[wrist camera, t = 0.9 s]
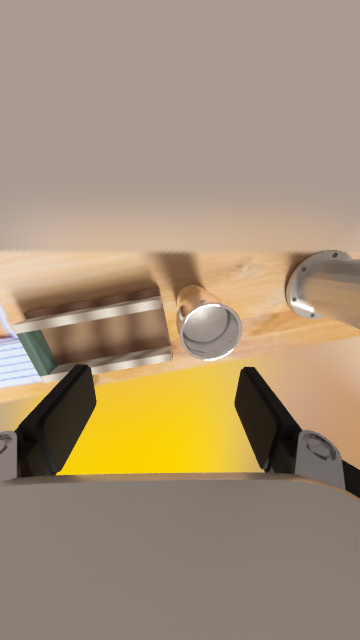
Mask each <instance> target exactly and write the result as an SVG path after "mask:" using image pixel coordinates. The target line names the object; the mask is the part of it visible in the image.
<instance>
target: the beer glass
mask: <svg viewBox="0 0 360 640" xmlns="http://www.w3.org/2000/svg"><path fill="white" fill-rule="evenodd" d="M177 307H178V309H177V313H176V324H177V330H178V333H179V336H180V340H181V344H182V346H183V347H184V349H185V350H186V351H187V352H188V353H189V354H190V355H191V356H193V357H195V358H197V359H201V360H216V359H219V358H222V357H224V356H226V355H227V354H229V353H230V352H231V351H232V350H233V349H234V348H235V347H236V346H237V344H238V342H239V340H240V338H241V334H242V325H241V321H240V318H239V316H238V315H237V313H236V312H235V311H234V310H233V309H232V308H231V307H230V306H229V305H228V304H227V303H226V302H225V301H224V300H223V299H222V298H220V297H219V296H217V295H215V294H213V293H211V292H207V291H205V289H203V288H202V287H201V286H198V285H188V286H186V287H184V288H183V289H182V290H181V291H180V292H179V293H178V296H177Z"/></svg>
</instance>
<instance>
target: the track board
mask: <svg viewBox="0 0 360 640" xmlns="http://www.w3.org/2000/svg"><path fill="white" fill-rule="evenodd" d="M24 315H25V317H26V320H24V321H21V322H19V323H16V324H14V325H12V327H13V329H14V331H15V332H16V334H17V336H18V338H19V340H20V342H21V343H22V345H23V347H24V349H25V351H26V352H27V354H28V356H29V358H30V360H31V361H32V363H33V365H34V367H35V369H36V370H37V372H38V374H39V376H40V378H41V379H42V381H43V383H47V382H53V381H59V380H62V379H63V378H64V377H65V376H66V375H67V374H68V372H69V371H70V370H71V369H72V368H73V367H74V366H75V365H76V364H87V365H88V367H91V371H92V375H93V374H99V373H104V372H110V371H116V370H121V369H127V368H133V367H138V366H144V365H150V364H155V363H161V362H167V361H172V357H173V352H172V347H171V343H170V338H169V333H168V328H167V323H166V319H165V314H164V309H163V304H162V299H161V295H160V290H159V288H156V289H150V290H144V291H139V292H133V293H128V294H122V295H116V296H111V297H105V298H99V299H94V300H88V301H82V302H77V303H71V304H65V305H60V306H54V307H48V308H43V309H37V310H31V311H27V312H25V313H24Z"/></svg>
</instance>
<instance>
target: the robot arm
mask: <svg viewBox="0 0 360 640" xmlns="http://www.w3.org/2000/svg"><path fill="white" fill-rule="evenodd" d="M286 299H287V302H288V305H289V307H290V309H291V310H292V311H293V312H294V313H295V314H297V315H299V316H301V317H303V318H307V319H319V318H323V317H328V318H331V319H334V320H336V321H339V322H342V323H345V324H347V325H350V326H353V327H356V328H359V329H360V259H358V260H352V258H351V257H350V256H348V255H347V254H346V253H344V252H341V251H337V250H327V251H321V252H318V253H315V254H313V255H311V256H309V257H307V258H306V259H305V260H303V261H302V262H301V263H300V264H299V265H298V266H297V267H296V269H295V270H294V272H293V273H292V275H291V277H290V279H289V281H288V285H287V290H286ZM95 406H96V396H95V389H94V383H93V377H92V371H91V367H88V365H87V364H76V365H75V366H74V367H73V368H72V369H71V370H70V371H69V372H68V374H67V375H66V376H65V377H64V378H63V379H62V380H61V381H60V382H59V383H58V384H57V385H56V386H55V387H54V388H53V389H52V391H51V392H50V393H49V394H48V395H47V396H46V397H45V398H44V399H43V400H42V401H41V402H40V403H39V404H38V405H37V407H36V408H35V409H34V410H33V411H32V412H31V413H30V414H29V415H28V416H27V417H26V418H25V419H24V420H23V421H22V422H21V424H20V425H19V427H18V428H17V429H16V430H15V431H14V432H13V431H4V432H0V640H360V470H359V469H357V468H355V467H354V466H352V465H350V464H349V463H347V462H345V461H343V460H342V458H341V455H340V452H339V451H338V450H337V448H336V447H335V446H334V445H333V444H332V443H331V442H330V441H329V440H328V439H327V438H325V437H324V436H322V435H320V434H319V433H316V432H314V431H309V430H304V431H302V429H301V428H300V427H299V425H298V424H297V423H296V421H295V420H294V419H293V417H292V416H291V415H290V413H289V412H288V411H287V409H286V408H285V407H284V405H283V404H282V403H281V401H280V400H279V399H278V397H277V396H276V395H275V394H274V392H273V391H272V390H271V389H270V387H269V386H268V385H267V383H266V382H265V381H264V379H263V378H262V377H261V375H260V374H259V373H258V371H257V370H256V369H255V368H254V367H244V368H243V369H241V372H240V377H239V382H238V387H237V392H236V397H235V408H236V411H237V413H238V416H239V418H240V420H241V422H242V425H243V428H244V430H245V432H246V435H247V437H248V440H249V442H250V444H251V447H252V449H253V451H254V454H255V456H256V459H257V461H258V464H259V466H260V468H261V469H264V471H265V473H245V472H243V473H154V474H153V473H149V474H96V475H95V474H94V475H58V476H55V475H56V473H57V472H60V471H61V470H62V468H63V466H64V464H65V463H66V461H67V459H68V457H69V455H70V453H71V451H72V449H73V448H74V446H75V444H76V442H77V440H78V438H79V436H80V435H81V433H82V431H83V429H84V427H85V425H86V423H87V422H88V420H89V418H90V416H91V414H92V412H93V410H94V408H95Z"/></svg>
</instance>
